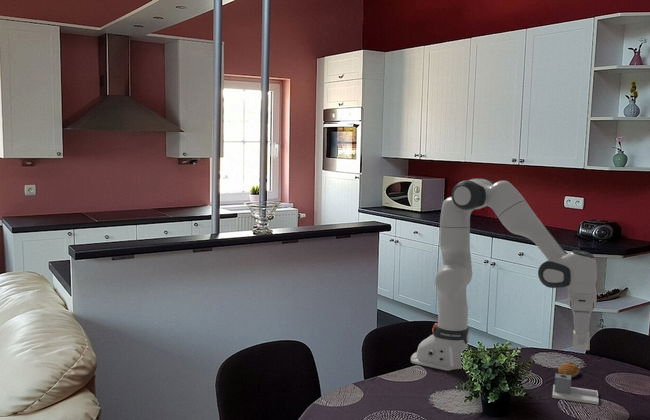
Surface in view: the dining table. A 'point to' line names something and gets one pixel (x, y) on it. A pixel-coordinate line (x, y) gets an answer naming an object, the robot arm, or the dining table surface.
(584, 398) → the rail base
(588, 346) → the module
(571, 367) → the pastry
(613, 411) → the dining table surface
